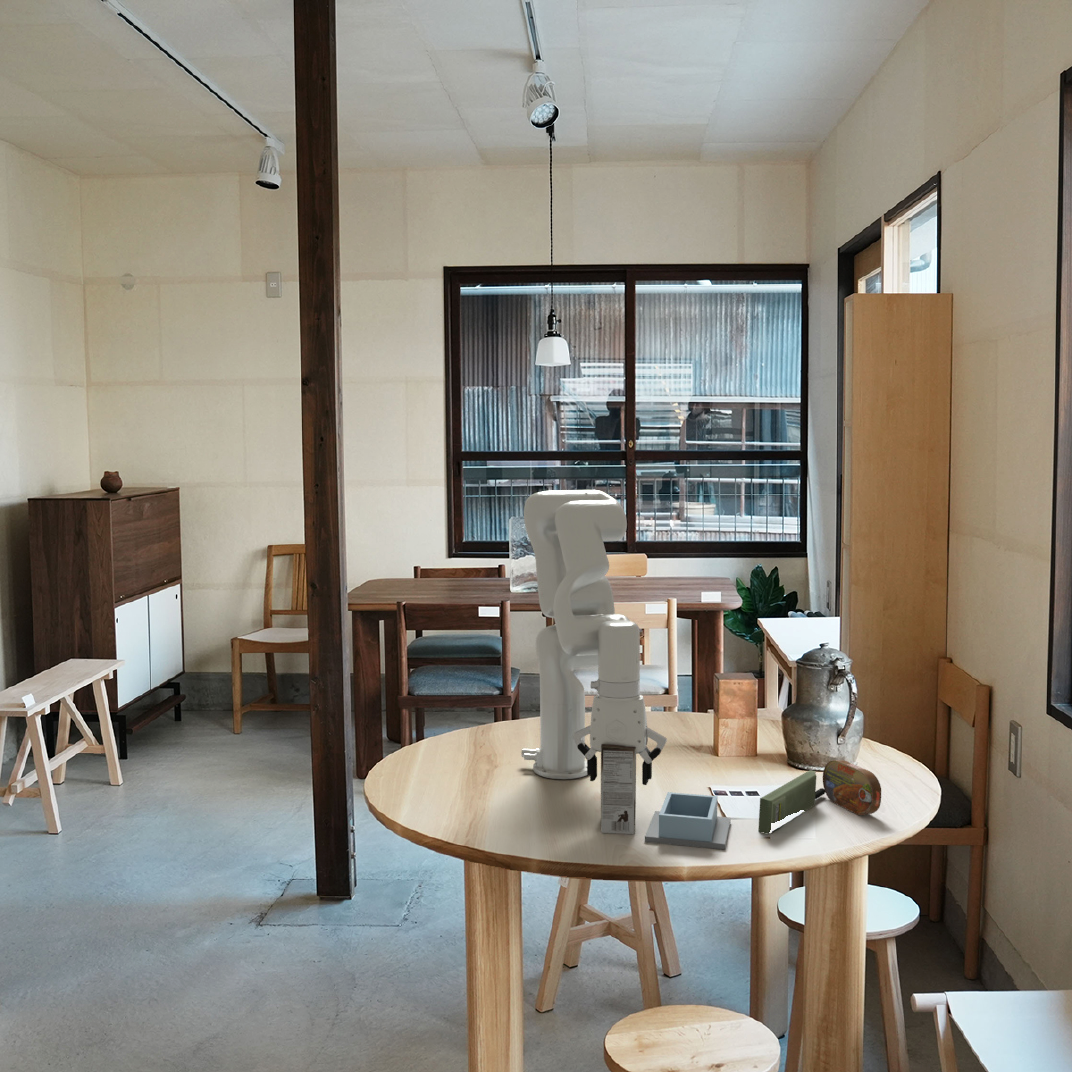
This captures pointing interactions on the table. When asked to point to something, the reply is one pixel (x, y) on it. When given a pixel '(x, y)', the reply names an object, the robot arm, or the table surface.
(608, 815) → the coffee box
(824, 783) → the tin
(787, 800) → the handheld radio
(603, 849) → the table surface
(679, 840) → the light blue open box
